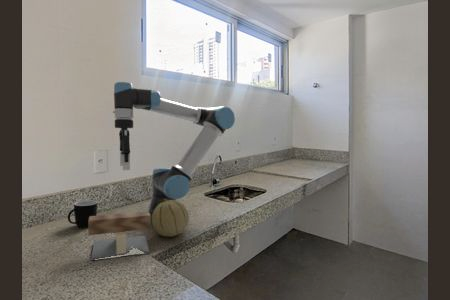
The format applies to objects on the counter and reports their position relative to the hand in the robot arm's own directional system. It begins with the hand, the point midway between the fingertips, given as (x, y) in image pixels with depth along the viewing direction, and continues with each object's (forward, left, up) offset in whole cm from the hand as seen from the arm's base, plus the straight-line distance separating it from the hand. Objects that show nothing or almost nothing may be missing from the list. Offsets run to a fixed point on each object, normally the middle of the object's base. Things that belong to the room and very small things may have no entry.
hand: (124, 167), depth 116 cm
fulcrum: (+2, +24, -26) cm, 36 cm away
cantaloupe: (-17, +17, -26) cm, 36 cm away
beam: (+2, +24, -19) cm, 31 cm away
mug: (+17, -4, -26) cm, 31 cm away
